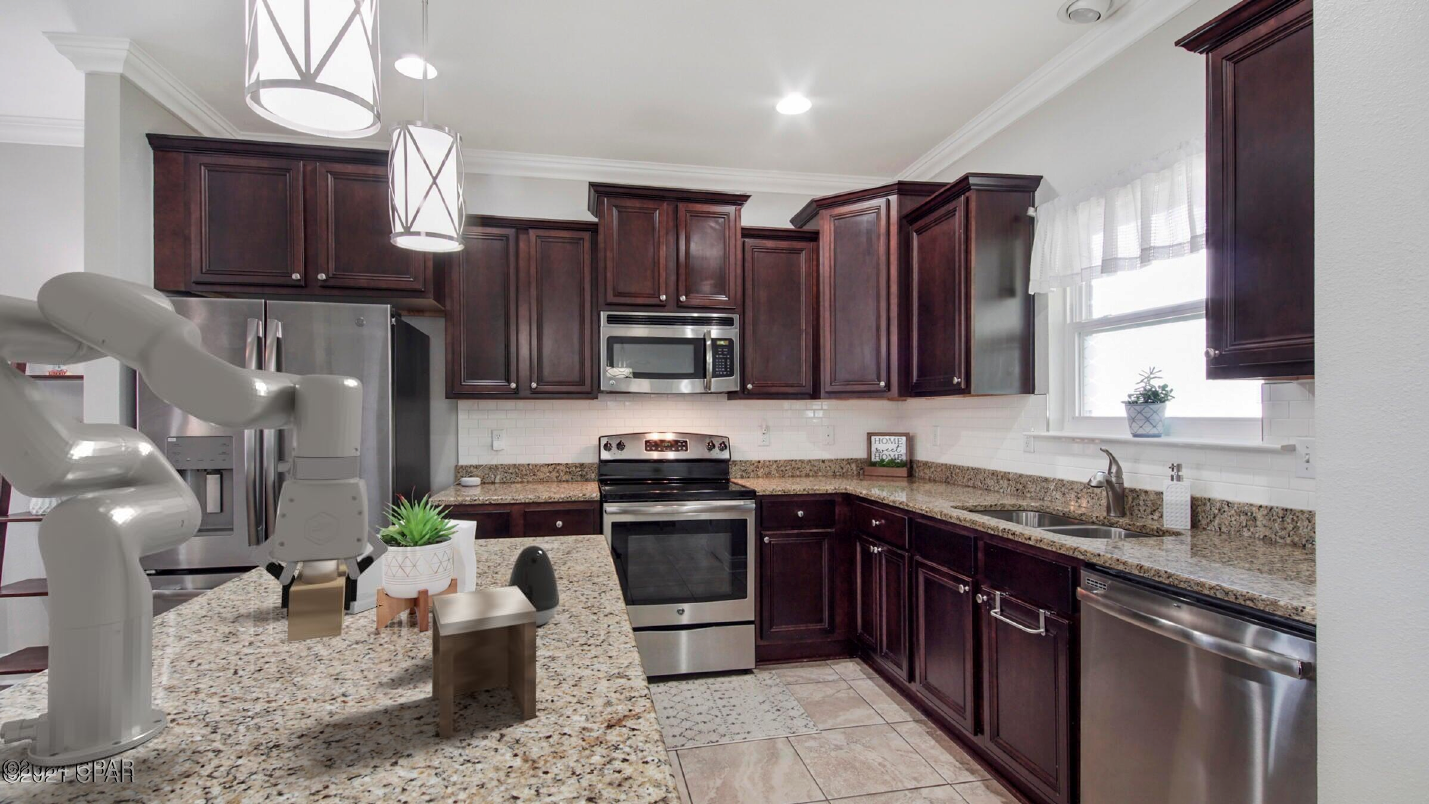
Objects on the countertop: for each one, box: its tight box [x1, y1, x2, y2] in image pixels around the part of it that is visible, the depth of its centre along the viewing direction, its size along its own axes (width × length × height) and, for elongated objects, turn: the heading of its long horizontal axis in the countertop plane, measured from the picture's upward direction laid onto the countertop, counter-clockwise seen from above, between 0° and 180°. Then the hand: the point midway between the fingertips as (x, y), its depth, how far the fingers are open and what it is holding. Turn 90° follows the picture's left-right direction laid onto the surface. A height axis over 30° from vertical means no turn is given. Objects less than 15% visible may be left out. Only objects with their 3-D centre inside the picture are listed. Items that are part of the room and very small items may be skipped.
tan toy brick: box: [286, 559, 348, 642], centre depth 82 cm, size 13×6×8 cm, turn 28°
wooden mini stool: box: [431, 586, 537, 740], centre depth 89 cm, size 12×14×14 cm
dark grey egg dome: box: [507, 545, 560, 627], centre depth 125 cm, size 10×10×15 cm
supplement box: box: [340, 533, 382, 615], centre depth 136 cm, size 9×9×15 cm
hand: (319, 609), depth 81 cm, fingers closed on tan toy brick, 5 cm apart
